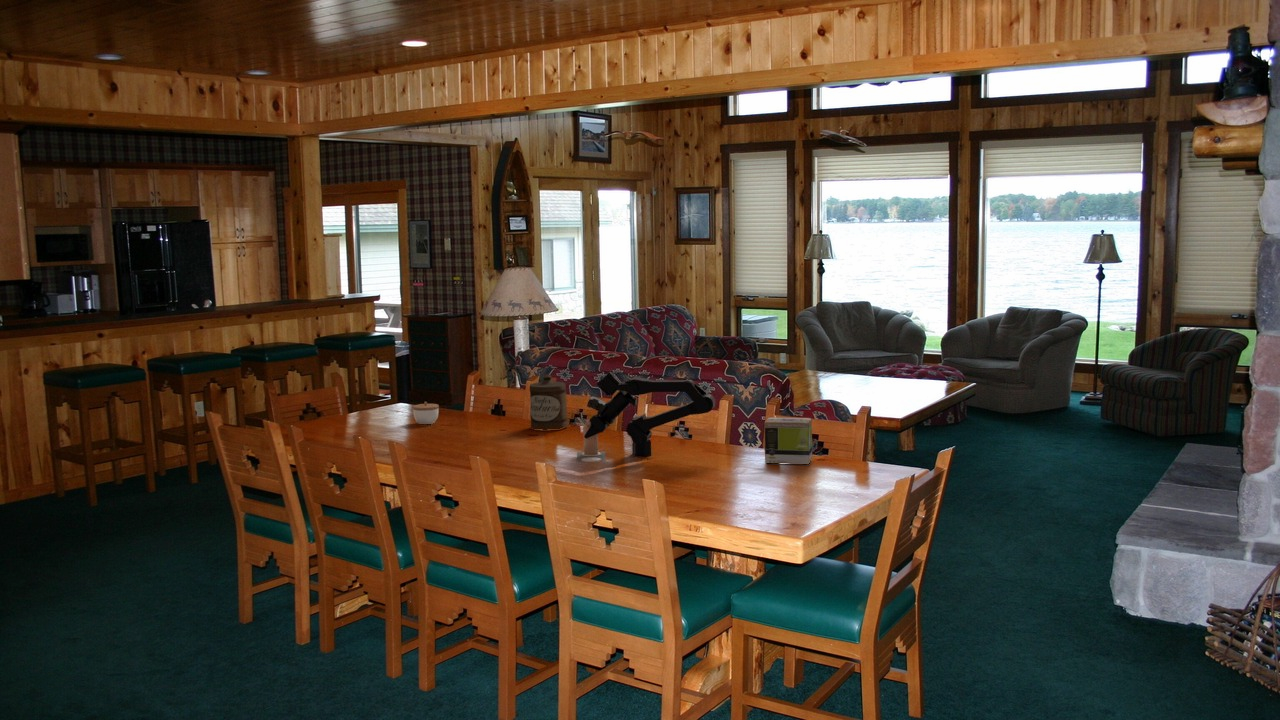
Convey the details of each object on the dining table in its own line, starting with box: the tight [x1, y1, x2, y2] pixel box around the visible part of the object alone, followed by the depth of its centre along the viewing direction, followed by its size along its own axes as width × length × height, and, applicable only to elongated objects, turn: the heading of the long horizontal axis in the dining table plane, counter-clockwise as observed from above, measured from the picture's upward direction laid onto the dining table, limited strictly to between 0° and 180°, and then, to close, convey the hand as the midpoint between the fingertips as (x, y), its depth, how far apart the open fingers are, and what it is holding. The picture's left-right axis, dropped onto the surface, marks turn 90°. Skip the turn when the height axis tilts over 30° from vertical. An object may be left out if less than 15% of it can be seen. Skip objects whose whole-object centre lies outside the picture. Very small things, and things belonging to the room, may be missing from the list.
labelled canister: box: [529, 374, 568, 430], centre depth 413 cm, size 15×15×22 cm
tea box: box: [764, 416, 813, 465], centre depth 345 cm, size 15×10×15 cm
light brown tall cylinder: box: [582, 418, 599, 455], centre depth 359 cm, size 5×5×12 cm
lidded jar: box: [412, 401, 440, 425], centre depth 428 cm, size 11×11×9 cm
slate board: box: [576, 451, 607, 463], centre depth 355 cm, size 16×10×1 cm, turn 3°
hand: (586, 436), depth 359 cm, fingers open, 5 cm apart
